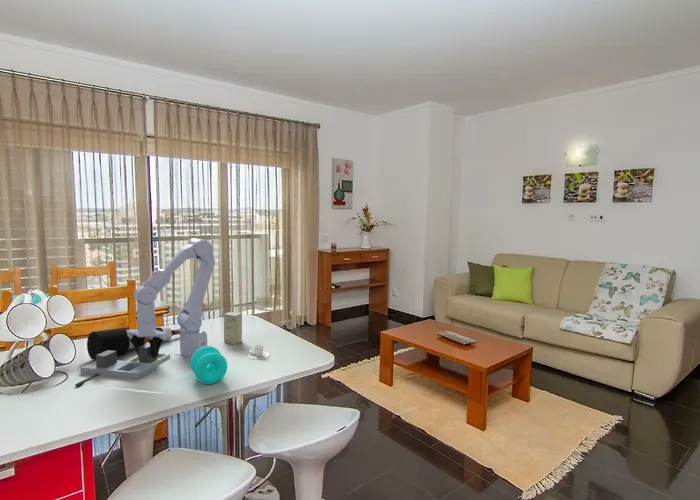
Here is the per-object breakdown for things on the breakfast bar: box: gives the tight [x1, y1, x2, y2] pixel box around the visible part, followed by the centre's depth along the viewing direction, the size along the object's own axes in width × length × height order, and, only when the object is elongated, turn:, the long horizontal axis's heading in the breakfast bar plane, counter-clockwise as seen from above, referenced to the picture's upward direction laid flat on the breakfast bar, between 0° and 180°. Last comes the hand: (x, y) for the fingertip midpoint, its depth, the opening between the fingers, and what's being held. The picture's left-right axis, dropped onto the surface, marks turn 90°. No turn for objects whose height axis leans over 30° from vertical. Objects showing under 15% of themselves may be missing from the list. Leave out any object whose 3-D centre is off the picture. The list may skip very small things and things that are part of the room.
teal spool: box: [189, 345, 228, 385], centre depth 130 cm, size 10×10×10 cm
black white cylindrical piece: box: [86, 325, 180, 361], centre depth 158 cm, size 10×34×10 cm, turn 144°
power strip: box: [74, 350, 156, 388], centre depth 131 cm, size 22×16×6 cm
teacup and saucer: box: [247, 344, 270, 360], centre depth 152 cm, size 9×8×4 cm
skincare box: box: [223, 311, 243, 345], centre depth 166 cm, size 6×4×12 cm
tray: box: [127, 352, 171, 367], centre depth 144 cm, size 10×10×2 cm
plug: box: [138, 342, 157, 363], centre depth 144 cm, size 4×5×6 cm
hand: (148, 356), depth 144 cm, fingers open, 5 cm apart
